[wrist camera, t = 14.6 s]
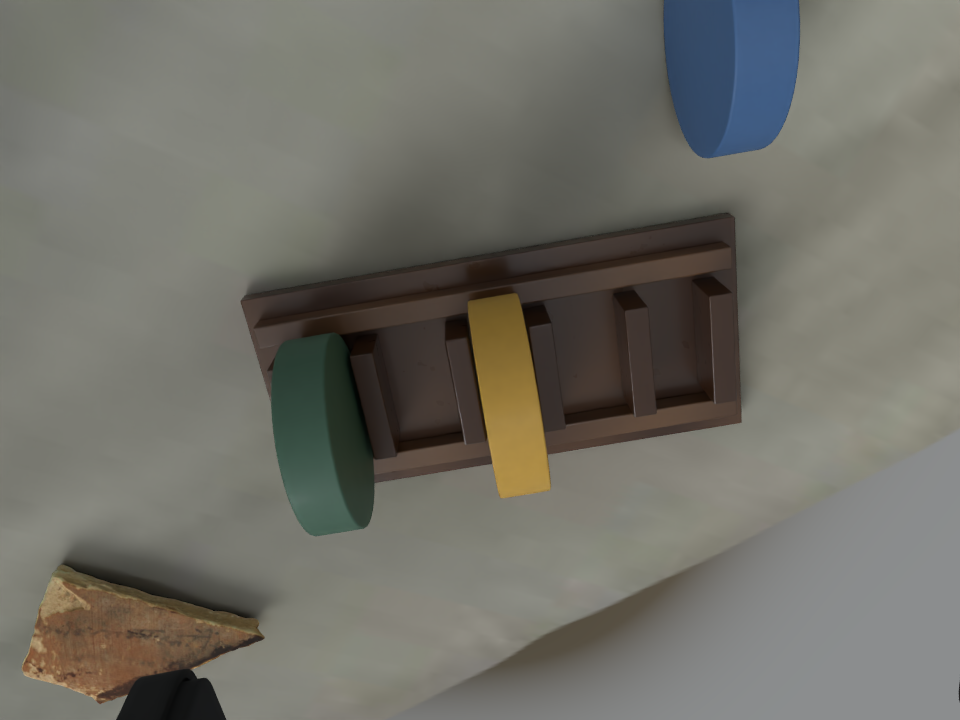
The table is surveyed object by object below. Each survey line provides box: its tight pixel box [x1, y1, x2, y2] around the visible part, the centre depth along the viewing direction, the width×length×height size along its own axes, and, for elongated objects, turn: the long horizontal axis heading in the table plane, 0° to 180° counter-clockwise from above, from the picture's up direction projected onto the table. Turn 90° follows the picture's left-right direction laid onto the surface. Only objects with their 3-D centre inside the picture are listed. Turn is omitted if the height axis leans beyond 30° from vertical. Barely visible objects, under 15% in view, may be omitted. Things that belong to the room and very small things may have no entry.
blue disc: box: [664, 0, 800, 158], centre depth 26 cm, size 2×8×8 cm, turn 9°
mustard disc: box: [468, 293, 551, 498], centre depth 30 cm, size 2×8×8 cm, turn 9°
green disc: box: [271, 332, 374, 536], centre depth 31 cm, size 2×8×8 cm, turn 9°
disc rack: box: [241, 213, 741, 483], centre depth 34 cm, size 22×10×3 cm, turn 99°
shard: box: [22, 565, 264, 704], centre depth 40 cm, size 11×8×2 cm
